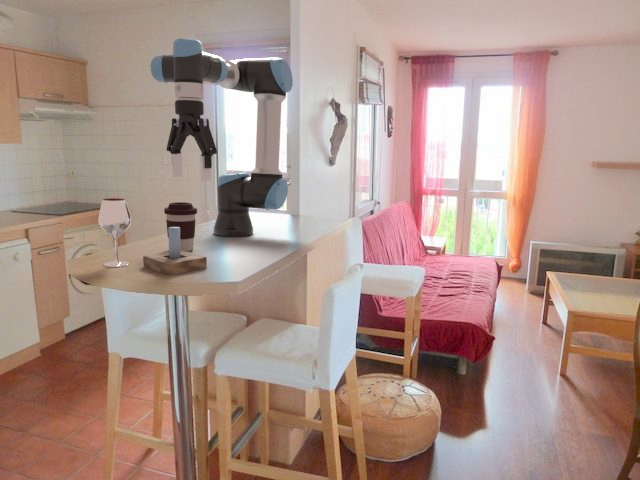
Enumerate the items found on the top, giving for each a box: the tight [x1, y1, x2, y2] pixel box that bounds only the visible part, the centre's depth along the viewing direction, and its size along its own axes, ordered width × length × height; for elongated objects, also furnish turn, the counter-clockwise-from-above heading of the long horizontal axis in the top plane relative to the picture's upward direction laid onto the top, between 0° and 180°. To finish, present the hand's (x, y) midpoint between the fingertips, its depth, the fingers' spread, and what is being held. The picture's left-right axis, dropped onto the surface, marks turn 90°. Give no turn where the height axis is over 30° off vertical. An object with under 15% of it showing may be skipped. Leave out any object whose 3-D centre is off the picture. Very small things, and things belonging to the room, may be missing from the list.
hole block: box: [142, 250, 208, 276], centre depth 132 cm, size 12×12×3 cm
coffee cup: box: [163, 201, 198, 252], centre depth 153 cm, size 10×10×15 cm
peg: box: [168, 227, 181, 259], centre depth 131 cm, size 3×3×11 cm
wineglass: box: [98, 197, 132, 268], centre depth 131 cm, size 8×8×18 cm
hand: (191, 178), depth 135 cm, fingers open, 13 cm apart
